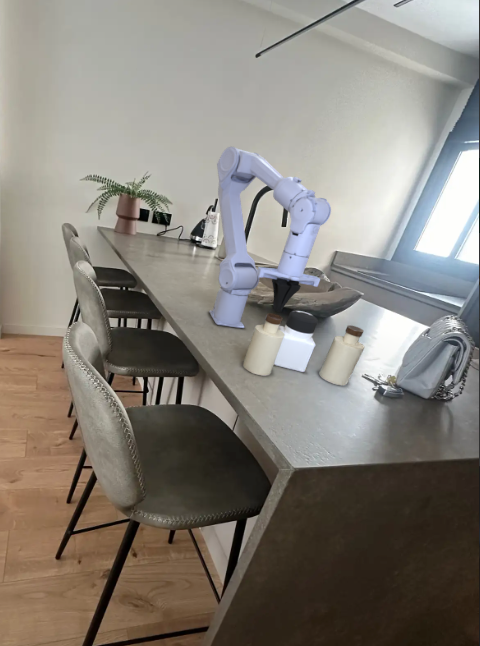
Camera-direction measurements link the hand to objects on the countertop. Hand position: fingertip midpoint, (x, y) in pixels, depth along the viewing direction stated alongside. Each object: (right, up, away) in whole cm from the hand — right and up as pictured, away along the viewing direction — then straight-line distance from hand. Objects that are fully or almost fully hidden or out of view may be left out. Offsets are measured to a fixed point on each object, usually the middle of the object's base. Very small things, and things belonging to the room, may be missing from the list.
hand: (276, 310), depth 89 cm
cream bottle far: (+10, -16, -7) cm, 20 cm away
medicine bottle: (+1, -12, -3) cm, 13 cm away
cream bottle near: (-7, -13, -9) cm, 18 cm away
